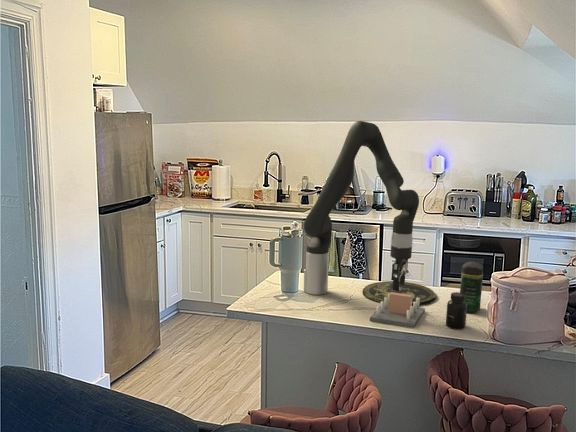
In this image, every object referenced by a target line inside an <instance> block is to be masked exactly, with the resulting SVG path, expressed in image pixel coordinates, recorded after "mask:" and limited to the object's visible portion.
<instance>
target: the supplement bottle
mask: <svg viewBox="0 0 576 432" xmlns="http://www.w3.org/2000/svg"><path fill="white" fill-rule="evenodd" d="M446 304H447V305H446V314H445V326H446V327H447V328H450V329H452V330H463V329H464V330H465V327H466V324H467V322H466V321H467V303H466V302H465V294H463V293H460V291H459V292H458V291H456V292H451V293H450V299H449V300H448V301H447V303H446Z"/></svg>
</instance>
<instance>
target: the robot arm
mask: <svg viewBox="0 0 576 432" xmlns="http://www.w3.org/2000/svg"><path fill="white" fill-rule="evenodd" d="M361 147H365V148H366V147H367V148H368V150H369V151H370V152H371V154H372V155H373V157H374V159H375V167H376V172H377V174H378V177H379V178H380V179H381V182H382V183H383V186H384V187H385V189H386V193H387V198H388V202H389V205H390V206H391V207H392V208H393V209H395V210H397V211H400V213H399V214H398V215H396V216H395V217H394V218H393V222H392V233H391V234H392V235H391V240H390V242H391V244H390V257H391V258H392V259H394V262H393V263H392V265H391V276H390V277H391V278H390V279H391V281H393V291H399V284H400V285H404V284H405V282H406V275H407V273H408V268H409V267H408V266H409V265H408V263H409V259H411V258H412V255H413V254H412V253H413V252H412V250H413V227H414V220H415V219H416V215H417V212H418V209H419V205H420V198H419V195H418V192H416V190H414V189H401V187H402V186H403V185H404V182H405V181H404V177H403V176H402V173H400V172H401V171H399V169H398V168H397V166H396V164H395V163H394V161H393V159H392V157H391V154H390V152H389V151H388V148H387V145H386V143H385V140H384V137H383V134H382V132H381V130H380V128H379V127H378V125H377V124H375V123H372V122H369V121H364V120H357V121H355V122H354V123H352V125H351V126H350V128H349V129H348V132H347V135H346V137H345V139H344V142H343V145H342V148H341V150H340V153H339V155H338V157H337V159H336V161H335V163H334V165H333V168H332V169H331V171H330V173H329V175H328V176H327V179H326V181H325V183H324V185H323V186H322V189H321V192H320V193H319V196H318V198H317V199H316V202H315V203H314V205H313V207H312V208H311V210H310V212H308V214H307V216H306V217H305V218H304V222H303V230H304V232H305V234H306V235H307V236H308V237H310V238H309V239H310V240H309V241H308V242H307V244H306V256H305V257H306V258H305V261H306V262H305V269H304V270H303V292H304V293H307V294H309V295H314V296H317V295H318V296H319V295H325V294H327V293H328V290H329V289H328V287H329V262H330V261H329V256H330V253H329V252H330V247H331V244H332V243H331V242H332V236H333V235H332V234H333V223H332V221H333V220H332V218H331V216H330V214H331V212H332V211H333V209H334V208H335V206H336V205H338V203H339V202H340V201H341V200H342V199H343V198H344V196H345V195H346V194H347V192H348V191H349V188H350V187H351V184H352V182H353V181H354V177H355V160H356V157H357V154H358V152H359V150H360V149H361Z"/></svg>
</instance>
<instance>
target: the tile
mask: <svg viewBox="0 0 576 432" xmlns="http://www.w3.org/2000/svg"><path fill="white" fill-rule="evenodd" d="M412 296H413V295H408V294H401V293H394V292H391V293H390V294H389V312H392V313H398V314H404V315H407V310H410V306H412Z"/></svg>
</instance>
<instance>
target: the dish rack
mask: <svg viewBox="0 0 576 432" xmlns="http://www.w3.org/2000/svg"><path fill="white" fill-rule="evenodd" d="M387 301H388V302H387ZM419 303H420V298H417V299H416V302H413V306H410V310H407V315H404V314H398V313H392V312H389V294H388V298H384V302H383V301H381V304H380V305H376V309H375V311H374V312H373V313H372V314H371V316H369V321H370V322H373V323H380V324H387V325H392V326H398V327H403V328H404V327H405V328H411V329H414V328H415V327H416V325H417V324H418V323H419V321H420V319H421V318H422V317H423V315H424V314H425V313H426V307H421V306H419Z"/></svg>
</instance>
